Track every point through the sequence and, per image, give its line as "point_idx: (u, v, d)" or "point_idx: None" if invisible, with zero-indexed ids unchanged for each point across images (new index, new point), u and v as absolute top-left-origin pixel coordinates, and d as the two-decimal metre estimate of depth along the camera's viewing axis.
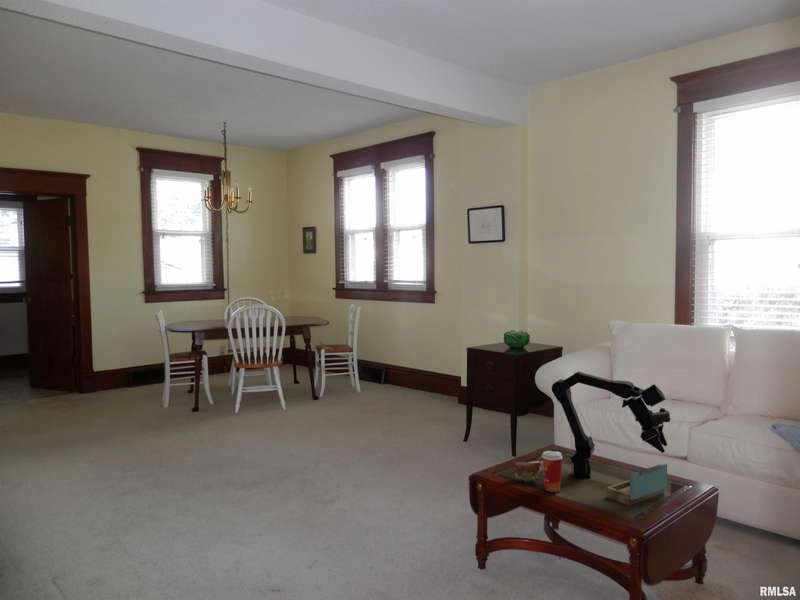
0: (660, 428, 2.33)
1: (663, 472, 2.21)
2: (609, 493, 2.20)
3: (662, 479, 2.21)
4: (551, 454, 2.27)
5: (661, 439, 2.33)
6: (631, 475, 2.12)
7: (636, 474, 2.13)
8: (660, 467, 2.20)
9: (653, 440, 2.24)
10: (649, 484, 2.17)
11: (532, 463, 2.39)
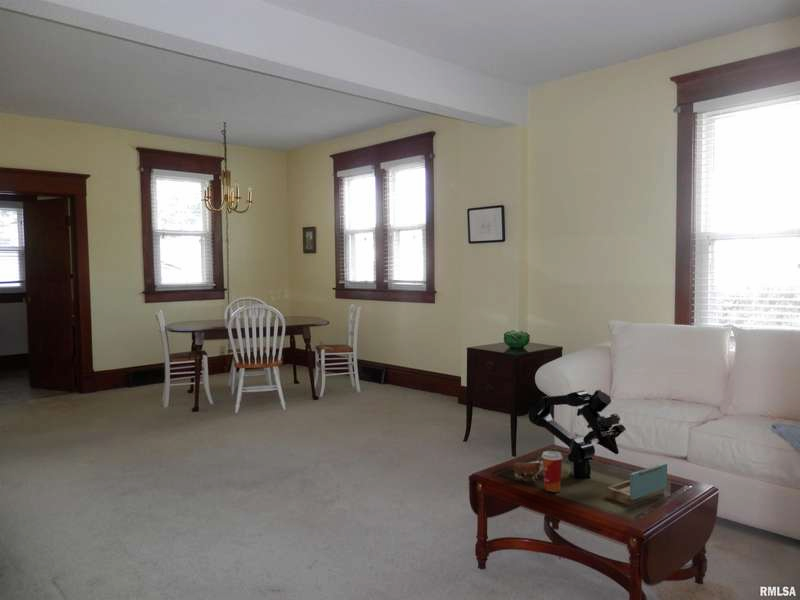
0: (611, 436, 2.31)
1: (663, 472, 2.21)
2: (609, 493, 2.20)
3: (662, 479, 2.21)
4: (551, 454, 2.27)
5: None
6: (631, 475, 2.12)
7: (636, 474, 2.13)
8: (660, 467, 2.20)
9: (605, 442, 2.31)
10: (649, 484, 2.17)
11: (532, 463, 2.39)
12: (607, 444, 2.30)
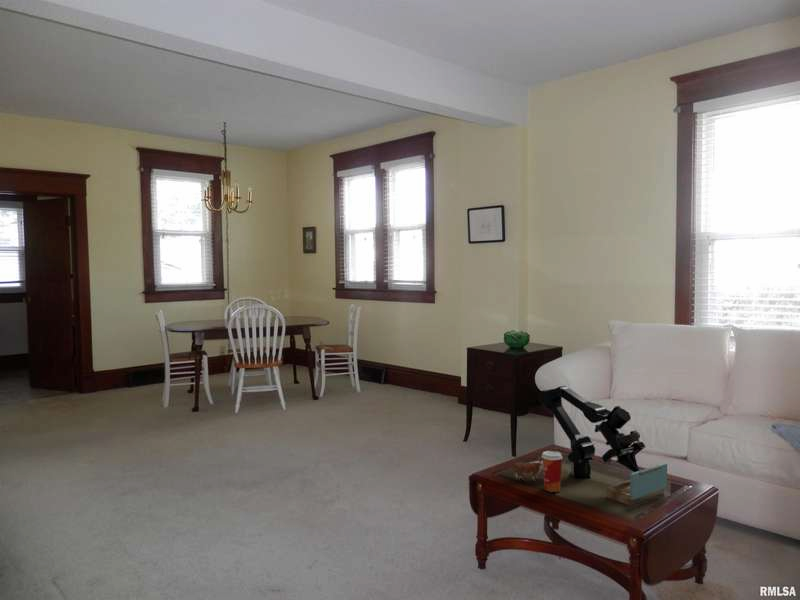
0: (631, 454, 2.24)
1: (663, 472, 2.21)
2: (609, 493, 2.20)
3: (662, 479, 2.21)
4: (551, 454, 2.27)
5: None
6: (631, 475, 2.12)
7: (636, 474, 2.13)
8: (660, 467, 2.20)
9: (625, 460, 2.24)
10: (649, 484, 2.17)
11: (532, 463, 2.39)
12: (627, 462, 2.23)
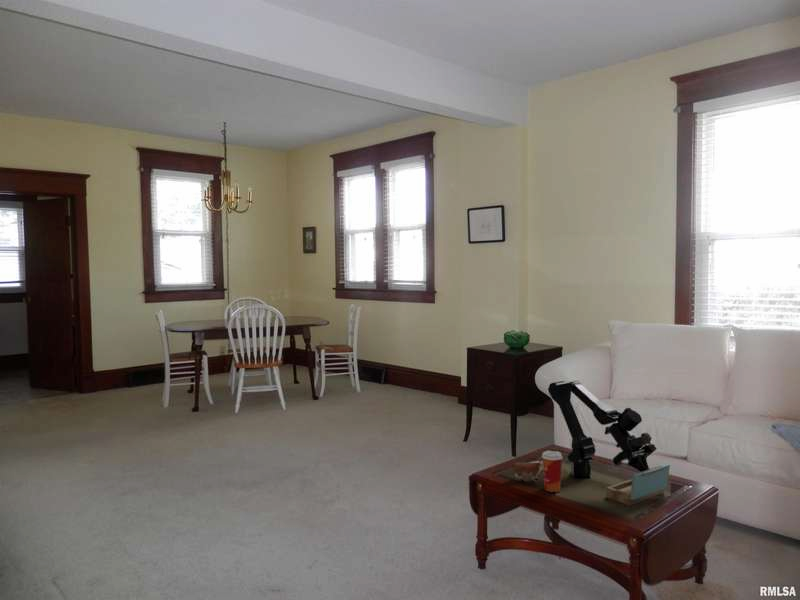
0: (642, 456, 2.20)
1: (665, 473, 2.21)
2: (609, 493, 2.20)
3: (663, 480, 2.21)
4: (551, 454, 2.27)
5: None
6: (634, 476, 2.11)
7: (639, 475, 2.12)
8: (663, 468, 2.19)
9: (636, 463, 2.20)
10: (650, 485, 2.17)
11: (532, 463, 2.39)
12: (638, 465, 2.19)
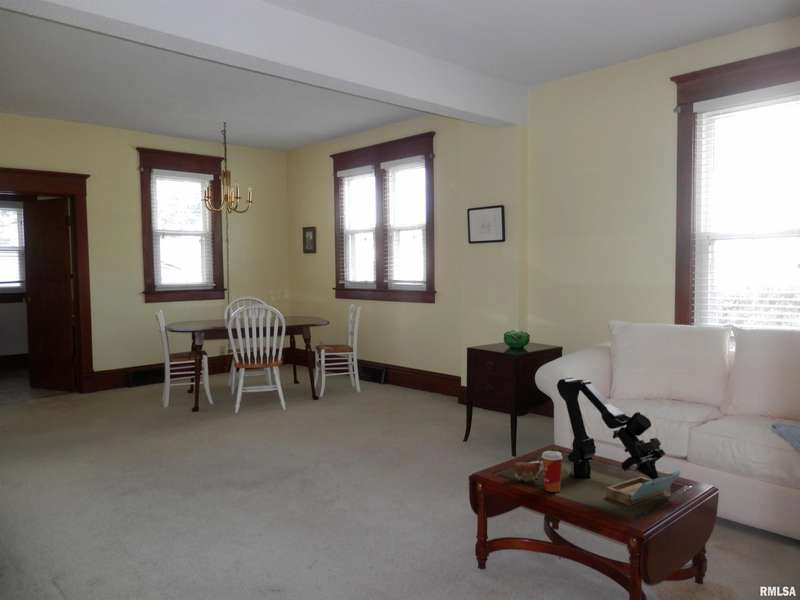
0: (650, 462, 2.17)
1: (672, 479, 2.18)
2: (609, 493, 2.20)
3: (667, 484, 2.19)
4: (551, 454, 2.27)
5: None
6: (644, 484, 2.08)
7: (649, 484, 2.08)
8: (673, 477, 2.15)
9: (645, 468, 2.17)
10: (654, 488, 2.15)
11: (532, 463, 2.39)
12: (646, 470, 2.16)
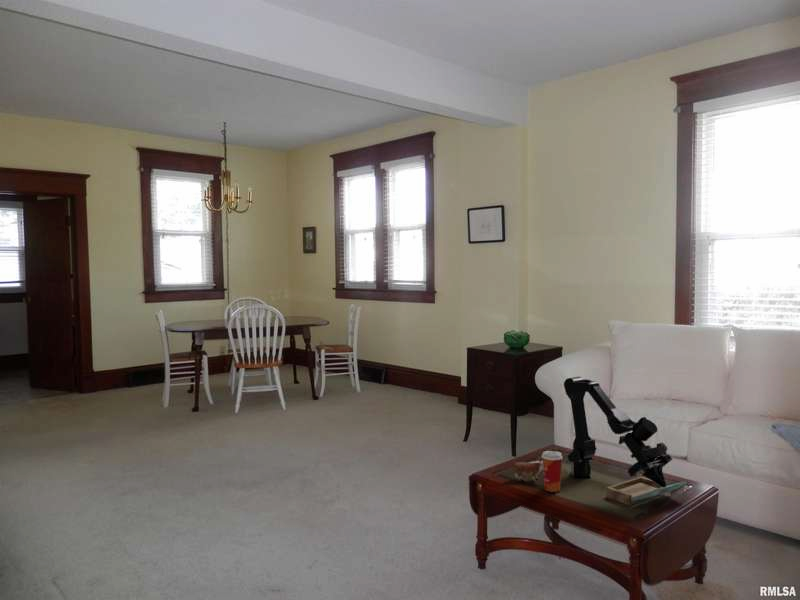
0: (657, 467, 2.15)
1: None
2: (609, 493, 2.20)
3: None
4: (551, 454, 2.27)
5: None
6: (650, 495, 2.06)
7: None
8: None
9: (652, 474, 2.15)
10: None
11: (532, 463, 2.39)
12: (653, 476, 2.14)
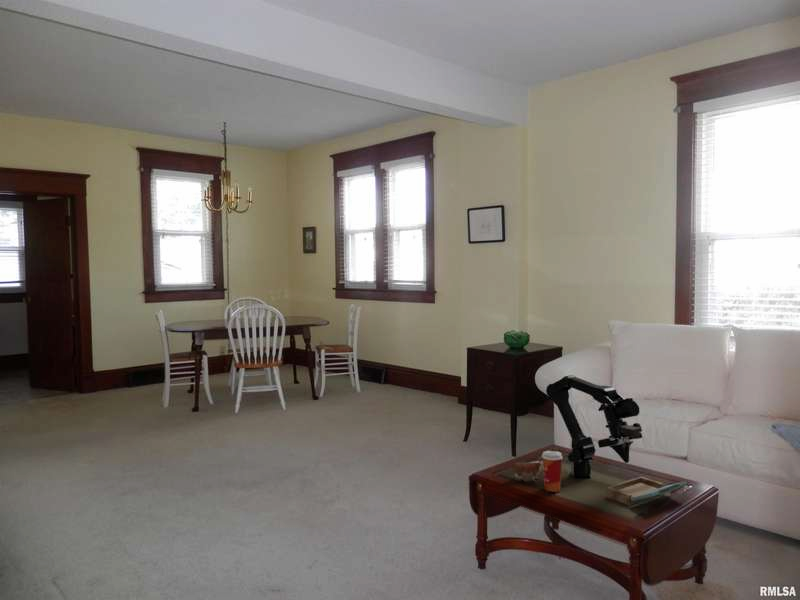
0: (626, 444, 2.26)
1: None
2: (609, 493, 2.20)
3: None
4: (551, 454, 2.27)
5: None
6: (650, 495, 2.06)
7: None
8: None
9: (619, 448, 2.26)
10: None
11: (532, 463, 2.39)
12: (620, 451, 2.26)
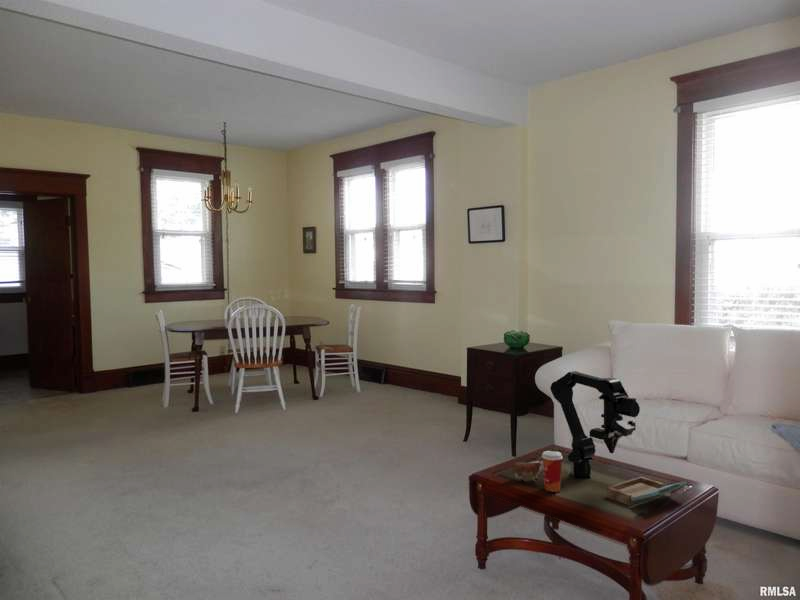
0: (616, 436, 2.29)
1: None
2: (609, 493, 2.20)
3: None
4: (551, 454, 2.27)
5: None
6: (650, 495, 2.06)
7: None
8: None
9: (608, 439, 2.30)
10: None
11: (532, 463, 2.39)
12: (608, 441, 2.30)
